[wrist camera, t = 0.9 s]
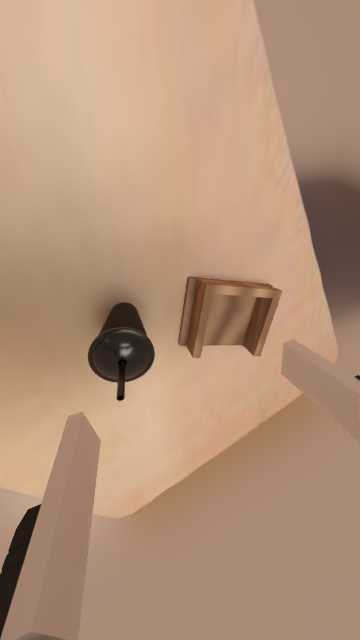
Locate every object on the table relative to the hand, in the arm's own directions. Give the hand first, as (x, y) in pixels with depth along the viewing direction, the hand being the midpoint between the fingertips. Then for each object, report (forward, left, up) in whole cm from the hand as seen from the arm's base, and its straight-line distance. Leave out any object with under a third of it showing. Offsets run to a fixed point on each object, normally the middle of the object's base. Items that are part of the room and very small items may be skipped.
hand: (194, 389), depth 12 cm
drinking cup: (-5, -5, -25) cm, 26 cm away
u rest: (+15, -4, -25) cm, 29 cm away
